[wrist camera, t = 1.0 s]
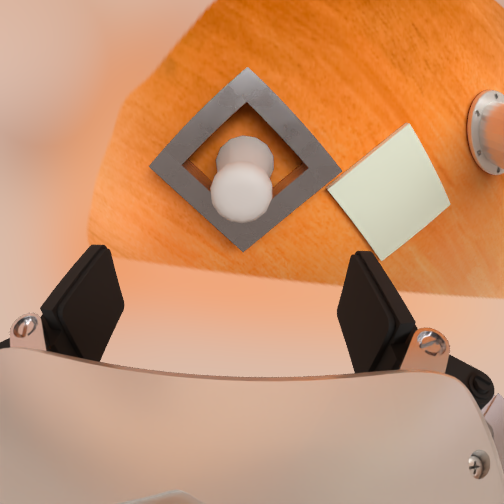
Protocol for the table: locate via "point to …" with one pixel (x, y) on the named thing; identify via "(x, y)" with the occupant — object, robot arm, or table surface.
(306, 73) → the table surface
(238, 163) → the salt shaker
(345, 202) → the mat
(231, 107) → the grey square frame
